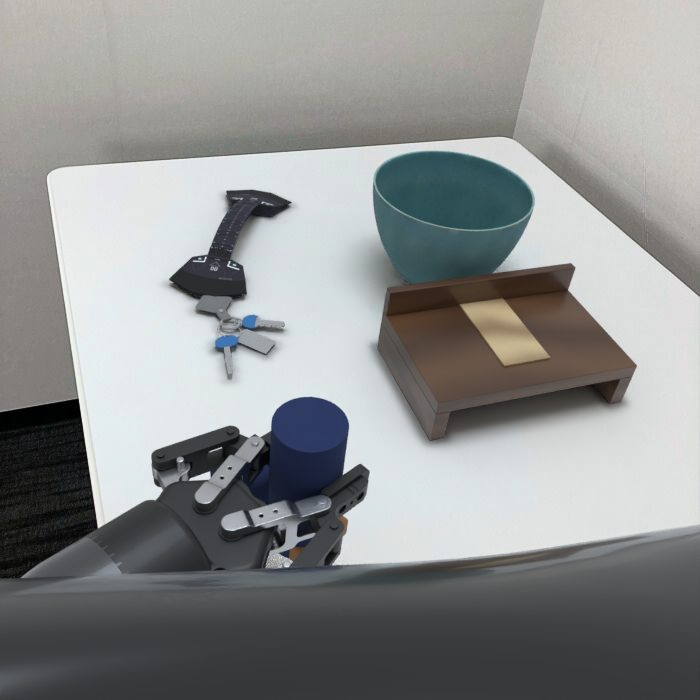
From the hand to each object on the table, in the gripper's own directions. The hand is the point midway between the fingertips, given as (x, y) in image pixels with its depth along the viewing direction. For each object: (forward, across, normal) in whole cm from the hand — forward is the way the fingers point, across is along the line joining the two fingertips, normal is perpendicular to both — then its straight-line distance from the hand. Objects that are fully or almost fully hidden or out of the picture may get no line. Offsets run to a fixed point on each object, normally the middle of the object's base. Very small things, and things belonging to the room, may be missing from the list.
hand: (335, 451), depth 52 cm
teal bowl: (+39, +21, +14) cm, 47 cm away
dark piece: (+24, +42, +14) cm, 50 cm away
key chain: (+14, +28, +14) cm, 34 cm away
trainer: (-3, +2, +6) cm, 7 cm away
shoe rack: (+31, +6, +14) cm, 34 cm away
